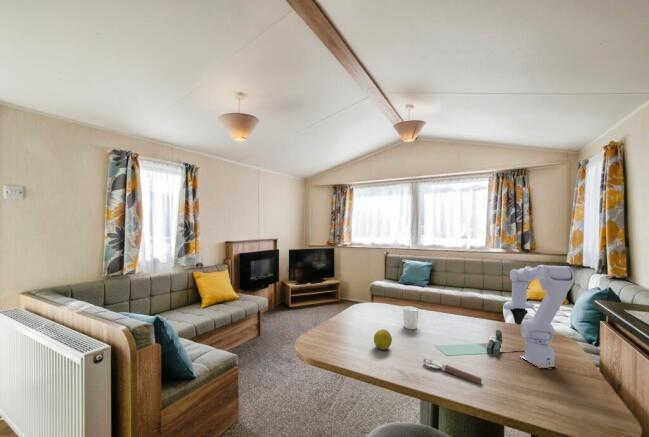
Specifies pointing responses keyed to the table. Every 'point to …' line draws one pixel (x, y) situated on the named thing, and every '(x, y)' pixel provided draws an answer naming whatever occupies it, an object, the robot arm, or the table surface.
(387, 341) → the lemon
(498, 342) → the can opener
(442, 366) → the brown handled opener
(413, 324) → the white cup
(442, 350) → the mat
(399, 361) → the table surface
